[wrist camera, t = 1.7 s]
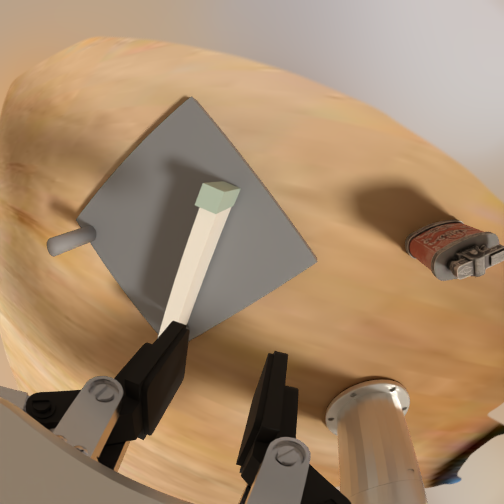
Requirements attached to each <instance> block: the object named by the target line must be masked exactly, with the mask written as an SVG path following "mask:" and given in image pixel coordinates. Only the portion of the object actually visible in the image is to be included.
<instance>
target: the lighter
mask: <svg viewBox="0 0 504 504" xmlns="http://www.w3.org/2000/svg"><path fill="white" fill-rule="evenodd" d="M405 249H406V252H407V253H408V255H410V256H411V257H412V258H414V259H418V260H419V261H420V262H421V263H423V264H424V265H425V266H426V267H428V268H429V269H430V270H431V271H432V273H433V274H434V276H435V277H437V278H438V279H439V280H441V281H446V280H452V279H463V278H466V277H468V276H476V277H478V276H482V275H484V274H485V269H487V268H489V267H491V266H493V265H495V264H498V263H500V262H502V261H504V246H502V245H500V244H499V239H498V237H497V236H496V235H495V234H493V233H491V232H483V231H480V230H478V229H475V228H473V227H470V226H467V225H465V224H464V223H463V222H461V221H459V220H444V221H440V222H436V223H432V224H430V225H427V226H425V227H422V228H420V229H419V230H417V231H415V232H413V233H411V234H410V235H409V236H408V237H407V239H406V241H405Z"/></svg>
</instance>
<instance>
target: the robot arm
mask: <svg viewBox="0 0 504 504" xmlns="http://www.w3.org/2000/svg"><path fill="white" fill-rule="evenodd" d="M189 333H190V330H189V329H186V325H185V324H182V323H179V322H176V321H172V322H171V323H170V324H169V325H168V327H167V328H166V329H165V330H164V331H163V333H162V334H161V335H160V336H159V337H158V338H157V340H156V341H155V342H154V343H153V344H150V343H145V344H144V345H143V346H142V347H141V348H140V349H139V351H138V352H137V353H136V354H135V355H134V356H133V357H132V359H131V360H130V361H129V362H128V363H127V364H126V365H125V367H124V368H123V369H122V370H121V371H120V372H119V373H118V375H117V376H116V377H115V378H114V379H113V378H111V377H107V376H97V377H94V378H92V379H90V380H89V381H88V382H87V383H86V384H85V385H84V387H83V388H82V390H73V391H58V392H40V393H35V394H33V395H31V396H28V393H26V392H22V391H17V390H13V389H9V388H6V387H2V386H0V504H193V503H190V502H187V501H184V500H181V499H178V498H175V497H173V496H170V495H167V494H165V493H162V492H159V491H157V490H154V489H152V488H150V487H147V486H145V485H143V484H140V483H138V482H136V481H134V480H132V479H130V478H128V477H125V476H123V475H121V474H119V473H117V472H118V469H119V467H120V465H121V462H122V460H123V457H124V455H125V453H126V450H127V448H128V445H129V443H130V441H132V440H136V439H137V437H138V438H140V439H142V440H144V438H145V437H146V435H147V434H148V435H152V433H153V432H154V430H155V428H156V426H157V425H158V423H159V421H160V420H161V418H162V416H163V414H164V413H165V411H166V409H167V407H168V406H169V404H170V402H171V400H172V399H173V397H174V395H175V393H176V392H177V390H178V388H179V386H180V385H181V383H182V381H183V378H184V373H185V365H186V356H187V348H188V340H189ZM287 360H288V354H285V353H281V352H277V351H274V354H271V353H269V354H268V356H267V359H266V362H265V365H264V368H263V371H262V374H261V377H260V380H259V383H258V386H257V388H256V391H255V394H254V397H253V400H252V404H251V408H250V412H249V416H248V420H247V424H246V428H245V432H244V436H243V440H242V444H241V447H240V451H239V455H238V459H237V463H236V465H240V466H241V469H240V473H242V474H241V477H242V478H243V479H244V480H245V481H246V483H247V484H246V487H245V489H244V491H243V494H242V496H241V498H240V501H239V503H238V504H428V502H427V498H426V494H425V489H424V485H423V482H422V477H421V473H420V469H419V465H418V461H417V458H416V454H415V450H414V447H413V443H412V440H411V436H410V433H409V430H408V427H407V423H406V420H405V417H404V416H405V414H406V413H407V411H408V409H409V405H410V398H409V395H408V392H407V390H406V388H405V387H404V386H403V385H402V384H400V383H398V382H396V381H392V380H384V379H380V380H371V381H366V382H363V383H360V384H357V385H354V386H352V387H350V388H348V389H346V390H345V391H343V392H342V393H340V394H339V395H338V396H337V397H335V398H334V399H333V401H332V402H331V403H330V404H329V406H328V408H327V411H326V425H327V427H328V429H329V430H330V431H331V432H332V433H333V434H335V435H337V436H338V451H339V472H340V491H339V490H337V489H336V488H335V487H334V486H333V485H332V484H331V483H329V482H328V481H327V480H326V479H325V478H324V477H323V476H322V475H321V474H320V473H318V472H317V471H316V470H315V469H314V468H313V467H312V466H311V465H310V464H309V463H310V451H309V449H308V447H307V446H306V445H305V444H304V443H303V442H301V441H300V440H298V439H296V426H297V410H298V388H294V387H289V386H285V380H286V370H287Z"/></svg>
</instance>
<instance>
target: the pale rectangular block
mask: <svg viewBox="0 0 504 504" xmlns="http://www.w3.org/2000/svg"><path fill="white" fill-rule="evenodd" d="M240 189H241V188H239V187H236V186H234V185H232V184H229V183H227V182H224V181H220V182H208V183H203V184H202V187H201V189H200V192H199V195H198V197H197V200H196V203H195V205H196V206H198V207H200V208H199V211H198V213H197V216H196V219H195V222H194V224H193V227H192V230H191V233H190V236H189V239H188V242H187V245H186V248H185V250H184V253H183V256H182V259H181V262H180V266H179V269H178V272H177V275H176V278H175V281H174V284H173V288H172V291H171V294H170V297H169V301H168V304H167V307H166V311H165V314H164V317H163V321H162V324H161V328H160V332H159V335H158V337H159V336H160V335H161V334H162V333H163V331H164V330H165V329H166V328H167V327H168V325H169V324H170V323H171V322H172V321H176V322H179V323H182V324H185V325H186V324H187V323H188V320H189V318H190V315H191V312H192V309H193V306H194V304H195V301H196V298H197V295H198V293H199V290H200V287H201V285H202V282H203V279H204V277H205V274H206V271H207V269H208V266H209V263H210V261H211V258H212V255H213V253H214V250H215V248H216V245H217V242H218V240H219V237H220V235H221V232H222V230H223V227H224V225H225V222H226V220H227V217H228V215H229V212H230V210H231V207H232V206H234V204H235V201H236V199H237V197H238V194H239V192H240Z"/></svg>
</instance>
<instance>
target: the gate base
mask: <svg viewBox="0 0 504 504" xmlns="http://www.w3.org/2000/svg"><path fill="white" fill-rule="evenodd" d="M220 181H224V182H227V183H229V184H232V185H234V186H236V187H239V188H241V189H240V192H239V194H238V197H237V199H236V201H235V204H234V206H232V207H231V210H230V212H229V215H228V217H227V220H226V222H225V225H224V227H223V230H222V232H221V235H220V237H219V240H218V242H217V245H216V248H215V250H214V253H213V255H212V258H211V261H210V263H209V266H208V269H207V271H206V274H205V277H204V279H203V282H202V285H201V287H200V290H199V293H198V295H197V298H196V301H195V304H194V306H193V309H192V312H191V315H190V318H189V320H188V323H187V324H186V329H189V330H190V333H189V340H188V341H190V340H192V339H194V338H195V337H197V336H199V335H200V334H202V333H204V332H206V331H207V330H209V329H211V328H212V327H214V326H216V325H217V324H219V323H221V322H223V321H224V320H226V319H228V318H229V317H231V316H233V315H234V314H236V313H237V312H239V311H241V310H242V309H244V308H246V307H247V306H249V305H251V304H252V303H254V302H255V301H257V300H259V299H260V298H262V297H263V296H265V295H267V294H268V293H270V292H271V291H273V290H275V289H276V288H278V287H279V286H281V285H283V284H284V283H286V282H287V281H289V280H290V279H292V278H293V277H295V276H297V275H298V274H300V273H301V272H303V271H304V270H306V269H307V268H309V267H310V266H312V265H313V264H315V263H316V262H317V257H316V256H315V255H314V253H313V252H312V250H311V249H310V247H309V246H308V245H307V243H306V242H305V240H304V239H303V237H302V236H301V235H300V233H299V232H298V230H297V229H296V228H295V226H294V225H293V223H292V222H291V221H290V219H289V218H288V217H287V215H286V214H285V212H284V211H283V210H282V208H281V207H280V206H279V204H278V203H277V202H276V200H275V199H274V198H273V196H272V195H271V193H270V192H269V191H268V189H267V188H266V187H265V185H264V184H263V183H262V182H261V180H260V179H259V178H258V176H257V175H256V174H255V172H254V171H253V170H252V168H251V167H250V166H249V165H248V163H247V162H246V161H245V159H244V158H243V157H242V156H241V154H240V153H239V152H238V150H237V149H236V148H235V147H234V145H233V144H232V143H231V142H230V140H229V139H228V138H227V137H226V135H225V134H224V133H223V132H222V130H221V129H220V128H219V127H218V126H217V124H216V123H215V122H214V121H213V119H212V118H211V117H210V116H209V115H208V113H207V112H206V111H205V110H204V109H203V107H202V106H201V105H200V104H199V103H198V101H197V100H196V99H194V98H193V97H190V98H189V99H188V100H186V101H185V102H184V103H183V104H182V105H181V106H179V107H178V108H177V109H176V110H175V111H174V112H173V113H172V114H171V115H169V116H168V117H167V118H166V119H165V120H164V121H163V122H162V123H161V124H160V125H159V126H158V127H157V128H156V129H155V130H154V131H153V132H152V133H150V134H149V135H148V136H147V137H146V138H145V139H144V140H143V141H142V143H141V144H140V145H139V146H138V147H137V148H136V149H135V150H134V151H133V152H132V153H131V154H130V155H129V156H128V157H127V158H126V159H125V160H124V162H123V163H122V164H121V165H120V166H119V167H118V168H117V169H116V170H115V172H114V173H113V174H112V175H111V176H110V177H109V179H108V180H107V181H106V182H105V183H104V184H103V186H102V187H101V188H100V189H99V191H98V192H97V193H96V194H95V195H94V197H93V198H92V199H91V201H90V202H89V203H88V204H87V206H86V207H85V208H84V210H83V211H82V212H81V214H80V215H79V216H78V218H77V219H76V221H77V222H78V224H79V226H80V227H81V228H80V229H77V230H74V231H70V232H67V233H64V234H61V235H58V236H55V237H52V238H50V239H48V241H47V249H48V252H49V253H50V255H51V256H57V255H59V254H62V253H64V252H66V251H69V250H71V249H74V248H76V247H79V246H81V245H84V244H87V243H89V242H90V243H91V245H92V246H93V248H94V249H95V251H96V252H97V254H98V255H99V257H100V258H101V260H102V261H103V263H104V264H105V266H106V267H107V269H108V270H109V271H110V273H111V274H112V276H113V277H114V278H115V280H116V281H117V283H118V284H119V285H120V287H121V288H122V289H123V291H124V292H125V293H126V295H127V296H128V297H129V299H130V300H131V301H132V303H133V304H134V305H135V306H136V308H137V309H138V310H139V312H140V313H141V314H142V315H143V317H144V318H145V319H146V320H147V321H148V323H149V324H150V325H151V326H152V327H153V329H154V330H155V331H156V332H157V333H158V335H159V332H160V328H161V324H162V321H163V317H164V314H165V311H166V307H167V304H168V301H169V297H170V294H171V291H172V288H173V284H174V281H175V278H176V275H177V272H178V269H179V266H180V262H181V259H182V256H183V253H184V250H185V248H186V245H187V242H188V239H189V236H190V233H191V230H192V227H193V224H194V222H195V219H196V216H197V213H198V211H199V208H200V207H198V206H196V205H195V203H196V200H197V197H198V195H199V192H200V189H201V187H202V184H203V183H208V182H220Z"/></svg>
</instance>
